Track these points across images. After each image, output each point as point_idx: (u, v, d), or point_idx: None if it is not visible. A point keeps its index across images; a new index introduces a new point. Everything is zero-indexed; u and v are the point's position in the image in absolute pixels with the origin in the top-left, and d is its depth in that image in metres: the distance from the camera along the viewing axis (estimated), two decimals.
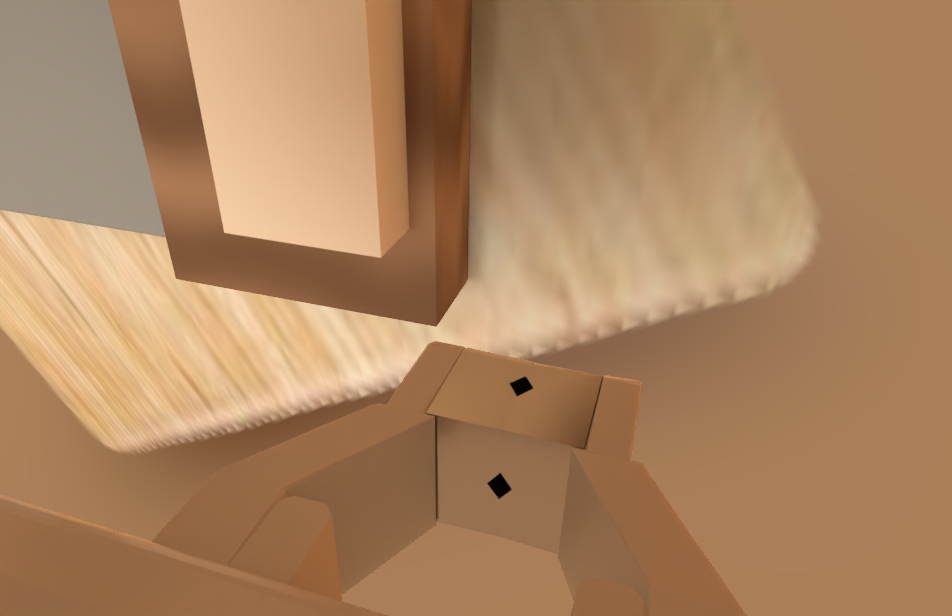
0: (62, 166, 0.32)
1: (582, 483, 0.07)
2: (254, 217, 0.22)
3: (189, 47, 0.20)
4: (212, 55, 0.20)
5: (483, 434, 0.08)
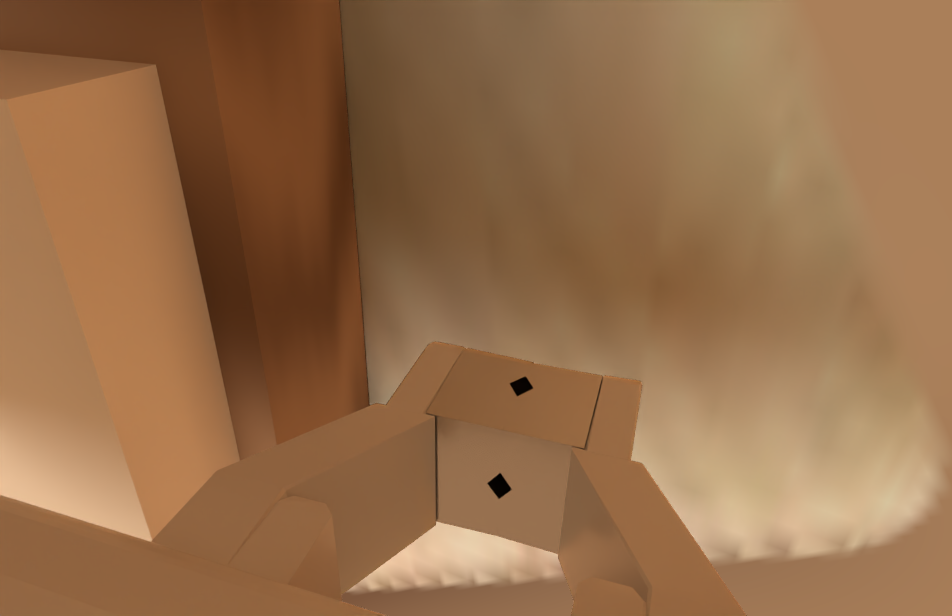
0: None
1: (582, 483, 0.07)
2: None
3: None
4: None
5: (483, 434, 0.08)
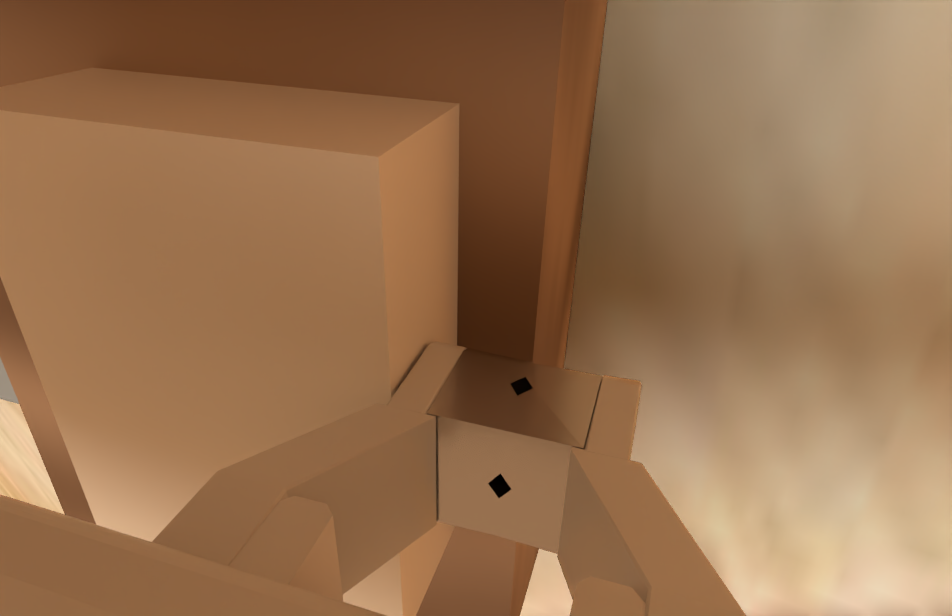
0: None
1: (582, 483, 0.07)
2: (155, 534, 0.11)
3: None
4: (36, 259, 0.09)
5: (484, 435, 0.08)
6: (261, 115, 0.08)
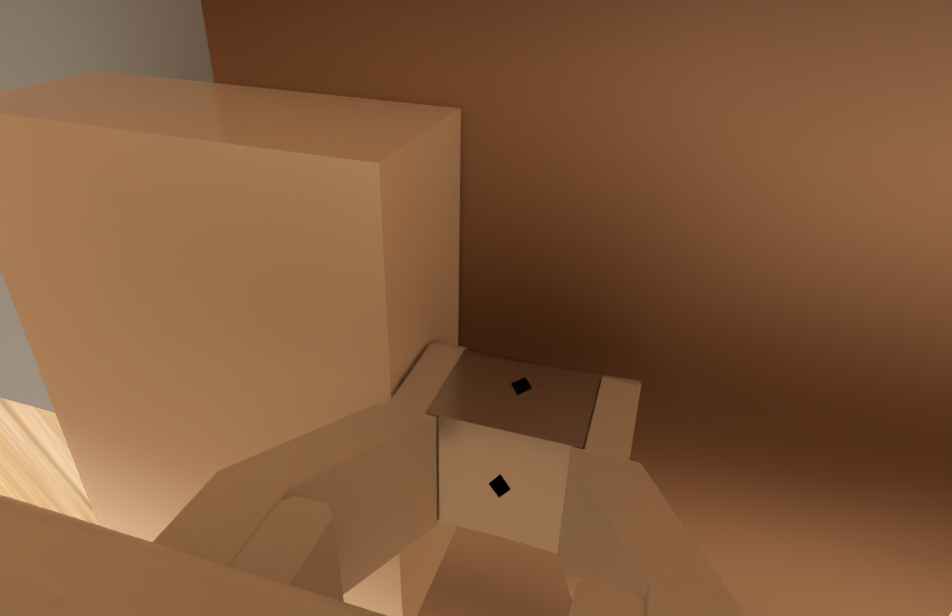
0: None
1: (581, 483, 0.07)
2: (157, 535, 0.11)
3: None
4: (39, 262, 0.09)
5: (484, 435, 0.08)
6: (263, 120, 0.08)
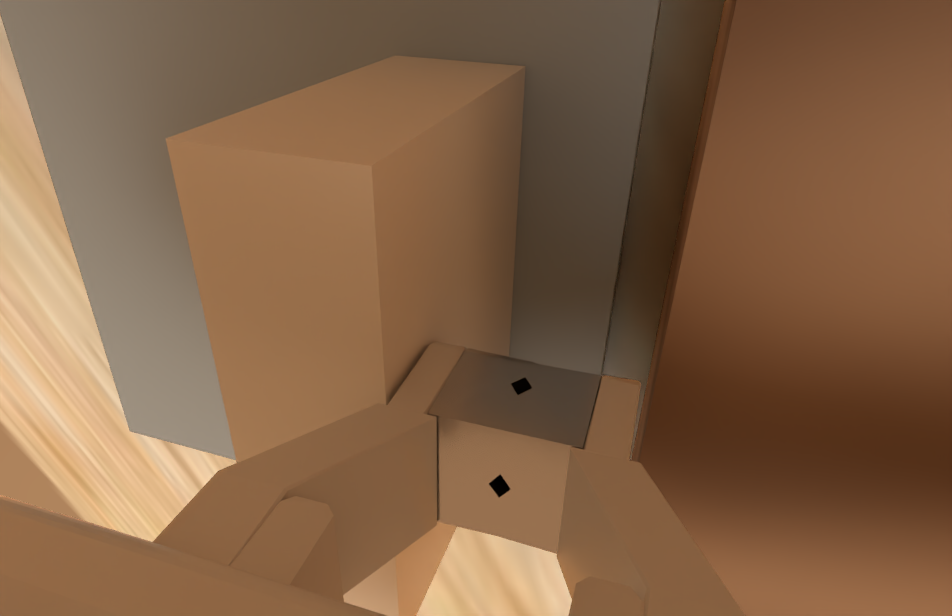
0: None
1: (580, 483, 0.07)
2: None
3: None
4: None
5: (484, 435, 0.08)
6: (333, 107, 0.09)
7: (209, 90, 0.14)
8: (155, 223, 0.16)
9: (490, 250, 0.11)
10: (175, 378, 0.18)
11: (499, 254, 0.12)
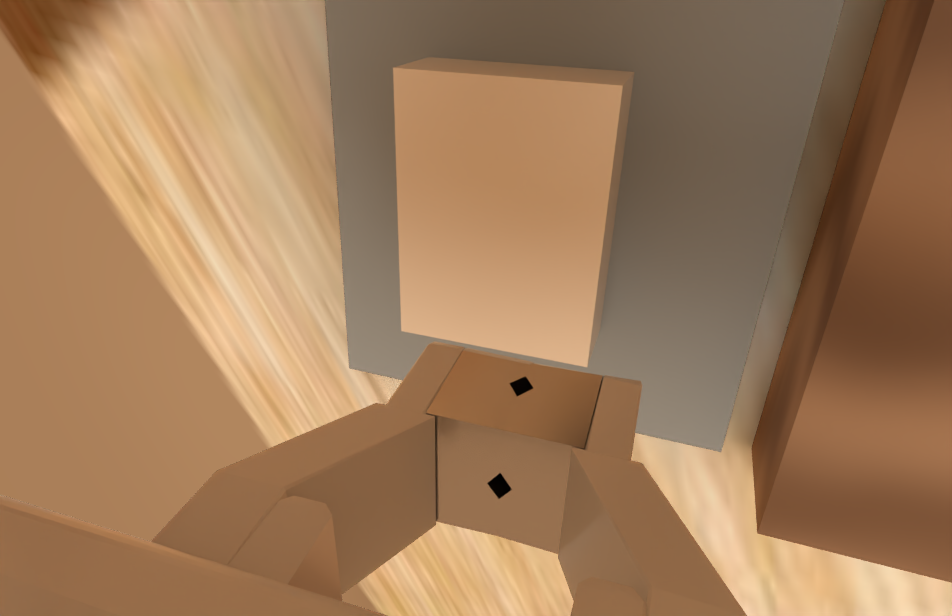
0: None
1: (582, 483, 0.07)
2: None
3: (623, 140, 0.19)
4: None
5: (483, 435, 0.08)
6: (482, 65, 0.18)
7: None
8: None
9: (542, 189, 0.17)
10: None
11: (563, 205, 0.17)
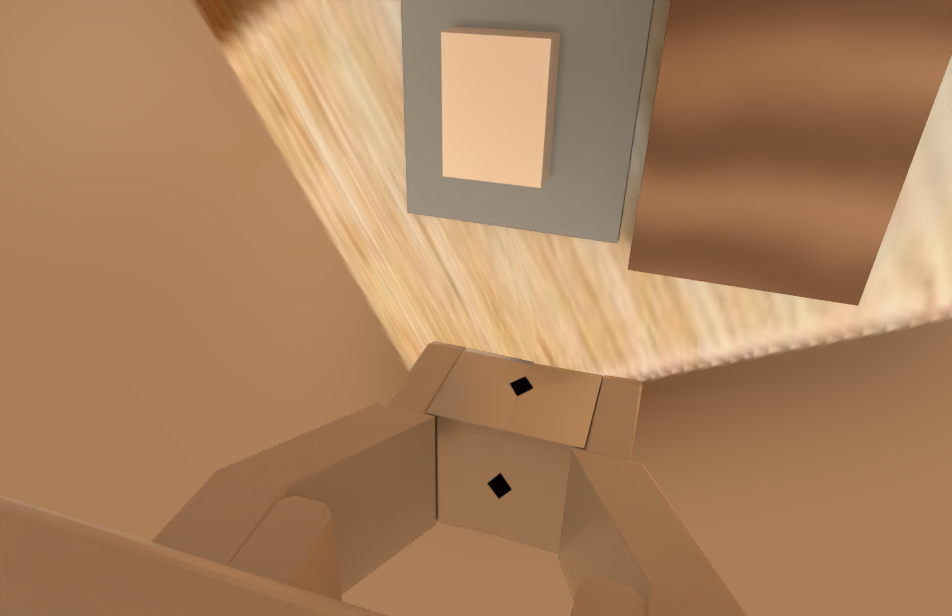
0: None
1: (582, 483, 0.07)
2: None
3: (557, 68, 0.36)
4: None
5: (483, 435, 0.08)
6: (484, 30, 0.36)
7: None
8: None
9: (515, 92, 0.35)
10: (439, 179, 0.42)
11: (526, 99, 0.35)
